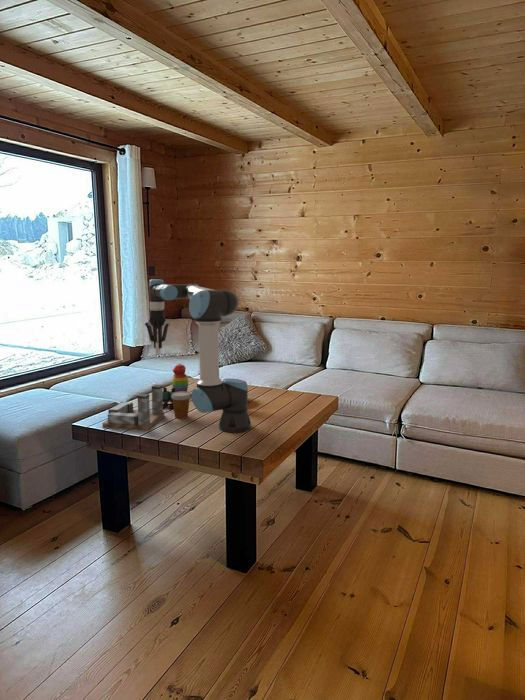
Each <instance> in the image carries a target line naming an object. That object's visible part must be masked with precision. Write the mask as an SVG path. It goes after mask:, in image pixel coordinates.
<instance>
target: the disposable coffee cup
mask: <svg viewBox="0 0 525 700" xmlns="http://www.w3.org/2000/svg"><path fill="white" fill-rule="evenodd" d="M171 397H172V400H173V407H174V409H173V411H174V417H175V418H176V419H181V420H182V419H186V418H188V416H189V410H190V409H189V406H190V398H192V394H190V392H189V391H188V392H185V391H179V392H174V393H172V396H171Z"/></svg>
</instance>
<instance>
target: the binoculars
mask: <svg viewBox="0 0 525 700" xmlns="http://www.w3.org/2000/svg"><path fill="white" fill-rule="evenodd" d="M162 391H163V410H165V408H166V409H167V406H168V409H169V410H174V407H173V400H172V397H171V396H172V393H174V392H176V391H175V388H173V387H172V388H171V389H170V390H168V388H167V387H165V386H163V387H162ZM169 402H170V403H169Z"/></svg>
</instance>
